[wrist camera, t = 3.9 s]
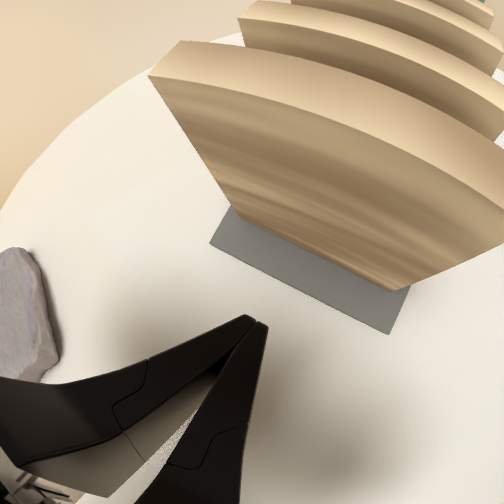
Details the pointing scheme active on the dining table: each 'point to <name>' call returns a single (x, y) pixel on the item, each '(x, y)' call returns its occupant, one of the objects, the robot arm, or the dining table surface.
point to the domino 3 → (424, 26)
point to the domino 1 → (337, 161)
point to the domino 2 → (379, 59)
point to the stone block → (24, 319)
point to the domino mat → (309, 273)
